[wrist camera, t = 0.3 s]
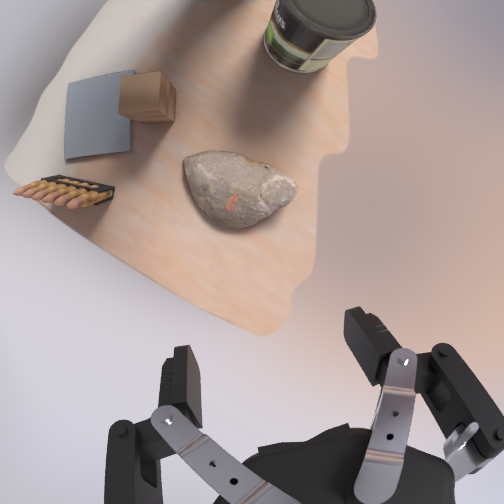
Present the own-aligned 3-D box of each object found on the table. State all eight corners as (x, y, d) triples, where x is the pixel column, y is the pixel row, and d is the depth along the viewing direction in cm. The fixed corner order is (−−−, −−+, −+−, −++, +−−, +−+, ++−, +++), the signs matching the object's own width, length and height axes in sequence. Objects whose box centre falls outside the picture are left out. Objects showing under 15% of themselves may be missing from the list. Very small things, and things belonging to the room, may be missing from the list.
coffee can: (259, 66, 32) (275, 23, 19) (267, 10, 29) (284, -43, 16) (330, 81, 34) (377, 51, 20) (334, 25, 30) (375, -16, 17)
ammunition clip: (56, 186, 35) (8, 199, 23) (58, 174, 34) (9, 184, 23) (112, 199, 37) (72, 217, 25) (115, 187, 36) (74, 200, 25)
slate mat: (70, 84, 30) (68, 83, 29) (135, 71, 31) (133, 69, 30) (67, 159, 34) (64, 159, 33) (130, 151, 35) (128, 150, 34)
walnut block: (144, 93, 32) (121, 76, 23) (176, 90, 33) (160, 70, 24) (143, 123, 34) (118, 114, 25) (174, 121, 34) (158, 110, 25)
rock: (196, 135, 36) (173, 200, 40) (187, 135, 32) (162, 207, 36) (299, 177, 37) (270, 239, 41) (303, 182, 33) (270, 251, 37)
